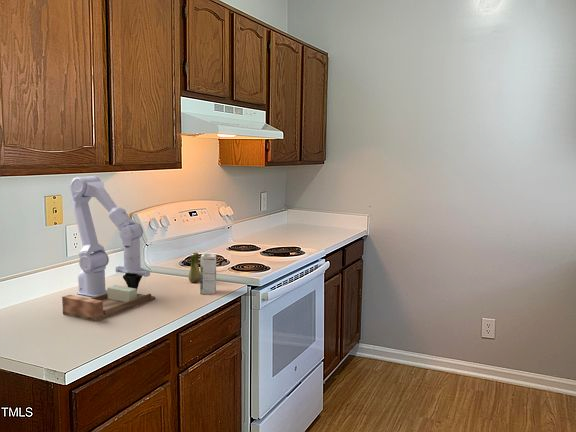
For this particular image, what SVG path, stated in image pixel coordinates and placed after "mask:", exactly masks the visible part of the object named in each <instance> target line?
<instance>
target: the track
mask: <svg viewBox="0 0 576 432" xmlns="http://www.w3.org/2000/svg"><path fill="white" fill-rule="evenodd" d="M61 300H62V315H64V316H69V317H74V318H79V319H83V320H88V321H92V322H98V321H102V320H104V319H107V318H110V317H112V316H115V315H117V314H120V313H123V312H125V311H128V310H130V309H133V308H136V307H138V306H141V305H144V304H147V303H149V302H151V301H155V300H156V296H153V295H152V293H147V294H143V293H142V294H141V293H137V298H136V299H133V300H130V301H127V302H122V301H117V300H112V299H108V293H105V294H102V295H99V296H95V297H92V296H91V297H84V296H81V295H79V296H78V295H73V294H65V295H63V296H61Z"/></svg>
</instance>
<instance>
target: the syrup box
mask: <svg viewBox="0 0 576 432" xmlns="http://www.w3.org/2000/svg"><path fill="white" fill-rule="evenodd" d="M199 259H200V266H199V271H200V281H199V283H200V284H199V285H200V286H199V287H200V289H199V290H200V291H199V292H200V295H215V294H216V291H217V254H216V253H201V256H200V258H199Z"/></svg>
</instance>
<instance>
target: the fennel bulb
mask: <svg viewBox="0 0 576 432" xmlns="http://www.w3.org/2000/svg"><path fill="white" fill-rule="evenodd" d="M189 257H190V269H189V273H188V280H189V282H190V283H200V266H199V253H198V252H193V254H190V256H189Z"/></svg>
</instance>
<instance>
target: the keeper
mask: <svg viewBox="0 0 576 432" xmlns="http://www.w3.org/2000/svg"><path fill="white" fill-rule="evenodd" d="M106 290H107V293H108V299H112V300H117V301H122V302H127V301H130V300H133V299H136V298H137V294H138V288H137V289H135V288H129V287H128V286H121V285H116V284H114V285H112V286H109V287H107V289H106Z"/></svg>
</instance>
